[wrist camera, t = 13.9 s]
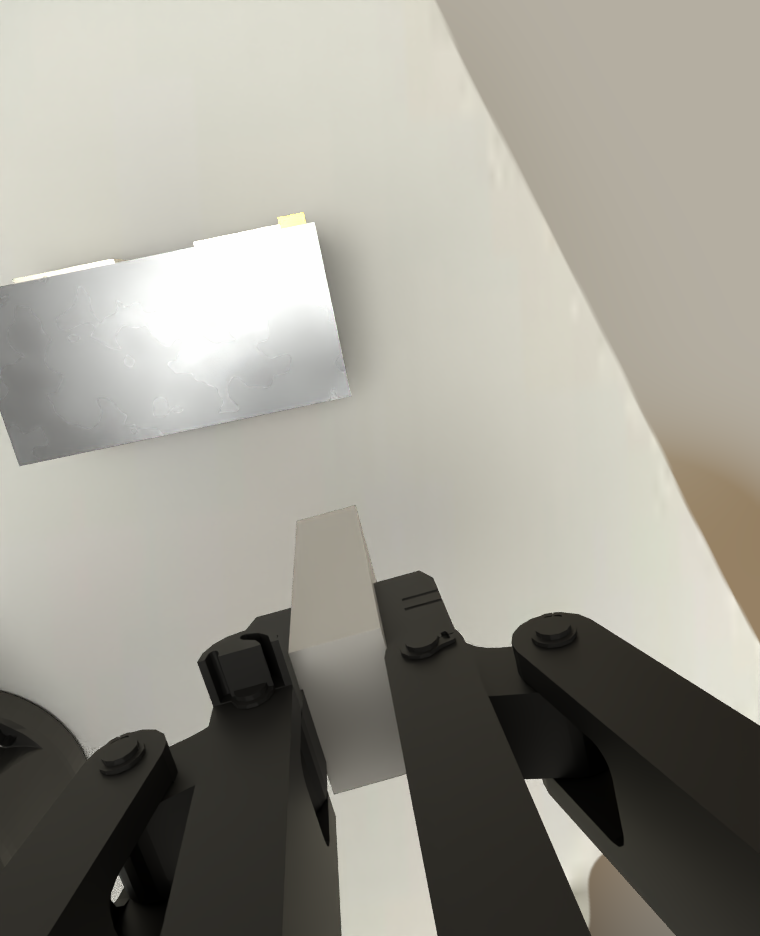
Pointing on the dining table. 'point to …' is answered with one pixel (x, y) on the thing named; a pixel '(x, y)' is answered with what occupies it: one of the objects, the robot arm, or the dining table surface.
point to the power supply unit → (168, 342)
